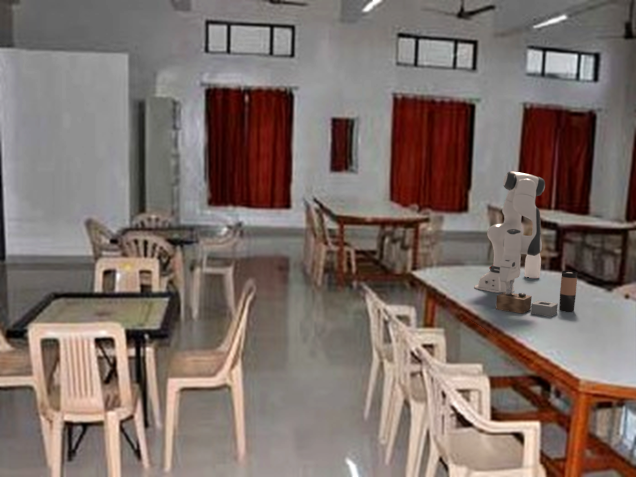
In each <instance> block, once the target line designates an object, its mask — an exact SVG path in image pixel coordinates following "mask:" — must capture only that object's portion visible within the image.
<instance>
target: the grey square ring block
mask: <svg viewBox="0 0 636 477" xmlns="http://www.w3.org/2000/svg"><path fill="white" fill-rule="evenodd" d="M558 305H559V304H558V303H557V302H552V301H551V302H550V301H543V300H536V301H534V302H531V309H530V314H533V315H537V316H543V317H544V316H545V317H548V318H549V317H550V318H551V317H553V316H555V315H556V314H557V313H558V307H559V306H558Z"/></svg>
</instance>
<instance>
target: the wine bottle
mask: <svg viewBox="0 0 636 477" xmlns="http://www.w3.org/2000/svg"><path fill="white" fill-rule="evenodd" d="M531 233H532V234H531V235H533V231H532V232H531ZM524 261H525V262H524V275H523V276H524V277H525V278H527V277H529V278H528V279H539V278H540V277H541V267H542V266H541V264H542V258H541V252H540V253H539V254H537V255H536V256H532V255H528V254H526V257H525V260H524Z"/></svg>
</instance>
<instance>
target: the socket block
mask: <svg viewBox="0 0 636 477" xmlns="http://www.w3.org/2000/svg"><path fill="white" fill-rule="evenodd" d="M518 294H519V293H514V292H512V296H506V292H501V293H499V294H497V295H496V302H495V310H498V311H505V312H511V313H518V314H525V313H527V312H529V311H531V305H532V295H527V294H526V296H525V297H524V298H520V296H518Z"/></svg>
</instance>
